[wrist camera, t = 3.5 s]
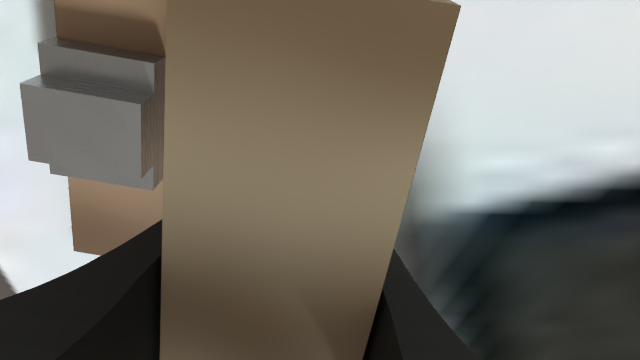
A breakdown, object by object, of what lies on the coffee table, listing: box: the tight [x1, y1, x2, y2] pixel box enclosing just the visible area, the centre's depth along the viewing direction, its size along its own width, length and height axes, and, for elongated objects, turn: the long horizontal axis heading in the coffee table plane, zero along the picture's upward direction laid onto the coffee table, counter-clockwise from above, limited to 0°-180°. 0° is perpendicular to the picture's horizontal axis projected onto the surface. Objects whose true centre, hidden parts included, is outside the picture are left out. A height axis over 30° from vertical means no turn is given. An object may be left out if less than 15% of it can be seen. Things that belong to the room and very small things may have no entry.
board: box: [54, 0, 167, 256], centre depth 19 cm, size 14×11×1 cm
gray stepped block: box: [20, 37, 166, 191], centre depth 17 cm, size 5×4×2 cm
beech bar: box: [160, 0, 461, 360], centre depth 11 cm, size 13×4×4 cm, turn 171°
